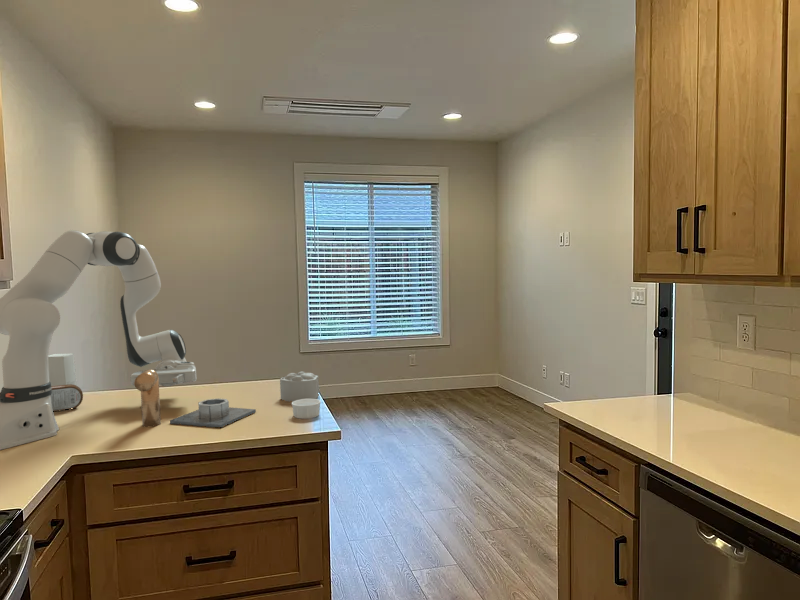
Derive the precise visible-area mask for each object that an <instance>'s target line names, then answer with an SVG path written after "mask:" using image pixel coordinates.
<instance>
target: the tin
mask: <svg viewBox="0 0 800 600" xmlns="http://www.w3.org/2000/svg"><path fill="white" fill-rule="evenodd" d="M51 387H52V394H51V402H52V408H53V411H57V412H60V411H59V410H65V409H71V408H75V409H77V408H78V407H80V405H81V404H82V402H83V399H84V394H83V393H84V392H83V390H82V389H81V388H80V387H79V386H78V385H77V386H76V385H72V384H68V385H58V386H51ZM65 411H66V410H65Z"/></svg>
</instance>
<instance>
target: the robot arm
mask: <svg viewBox="0 0 800 600" xmlns="http://www.w3.org/2000/svg"><path fill="white" fill-rule="evenodd" d="M87 265H90V266H99V267H100V266H101V267H116V268H118V270H119V272H120V273H121V278H122V280H123V282H124V287H125V288H124V294H123V295H122V296H121V297H120V302H119V305H120V306H119V309H120V314H121V320H122V326H123V331H124V337H125V345H126V356H127V359H128V361H129V362H130V363H131V364H133V365H134V366H137V367H140V368H142V367H144V366H145V367H146V366H148V365H151V364H152V363H156V362H159V363H158V364H157V365H156V366H155V368H154V369H153V370H154V371H155V372H156V373H157V374H158V378H159V386H160V385H161V386H162V387H163V386H164V387H172V386H175V385H179V384H182V383H190V382H196V381H197V368H196V365H195V362H193V361H187V359H186V355H187V349H186V344H185V343H186V342H185V341H184V338H183V337H182V335H181V334H180V333H178V332H177V331H176V330H174V329H167V330H163V331H160V332H157V333H153V334H149V335H144V336H141V335H140V334H139V327H138V322H137V312H138V311H139V310H140V309H142V308H143V307H144V306H146V305H147V304H148V303H151V301H153V300H154V299H155V298H156V297H157V296H158V295H159V293H160V291H161V287H162V282H161V277H160V275H159V272H158V269H157V265H156V263H155V262H154V260H153V258H152V256H151V253H150V252H149V250H148V249H147V248H146V246H145V245H143V244H140V243H137V241H136V240H135V239H134V237H132V235H130V234H128V233H125V232H122V231H106V230H105V231H96V232H89V233H84V232H82V231H79V230H73V229H72V230H71V229H70V230H65V232H64V233H62V234H61V235H60V236H59V237H57V239H55V240H54V242H52V244H51V245H50V246H49V247H48V248H47V249H46V250H45V251H44V253H43V254H42V255H41V257H40V258H39V259H38V261H36V263H35V265H34V266H32V268H31V270H29V272H28V273H27V274H26V275H25V276H24V277H23V278H22V279H21V280H20V281H18V283H16V284H15V285H14V286H13V287H11V288H10V289H9V290H8V291H7V292H6V293H5V294H4V295H2V297H1V298H0V334H1V335H4V336H9V339H8V343H7V349H6V353H5V354H4V355H3V357H2V359H1V366H2V367H1V368H2V381H3V383H2V384H3V386H2V388H1V390H0V451H1V450H5V449H9V448H13V447H16V446H20V445H23V444H28V443H33V442H35V441H39V440H42V439H46V438H50V437H54V436H56V435H58V433H57V432H58V431H59V429H60V427H59V425H58V423H57V421H56V418H55V412H53V408H52V402H51V394H52V387H51V382H50V381H49V367H48V356H49V352H50V346H51V343H52V342H51V341H52V337H53V334H54V333H55V331H56V330H57V328H59V325H60V323H61V313H60V310H59V309H58V308H57V307H56V305H54V304H53V303H54V302H56V301H57V300H58V299H59V300H60V298H62V297H64V296H65V295H66V294H67V293H68V291H69V290H70V288H71V287H72V286H73V285H74V283H75V282H76V281H77V280H78V277H79V276H80V275H81V274H82V272H83V270H84V269H85V267H86V266H87ZM160 361H161V362H160ZM146 370H147V369H146ZM146 370H145V369H144V370H138V371H134V372H133V373H132V374H131V375H130V384H131V386H135V385H134V381H135V379H136V377H137V376H139V375H140V374H141V373H143V372H144V371H146Z"/></svg>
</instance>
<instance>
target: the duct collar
mask: <svg viewBox="0 0 800 600" xmlns="http://www.w3.org/2000/svg"><path fill="white" fill-rule="evenodd" d="M256 409H257V408H256ZM256 409H255V408H243V407H230V402H229V400H228V399H227V398H210V399H204V400H201V401H199V402H198V409H196V410H193V411H191V412H188V413H185V414H182V415H180V416H179V417H176V418H173V419H169V424H171V425H179V424H181V425H180V426H190V425H193V426H194V427H202V426H206V427H205V428H213V427H222V428H224V427H223V426H225V425H227V424H229V425H231V424H233V423H235V422H234V421H236V420H238V419H240V420H242V419H244V418H243V417H245V416H247V417H249V416H251V415H253V414H255V412H256V413H257V411H256ZM252 413H253V414H252ZM250 414H251V415H250ZM248 415H249V416H248ZM241 418H242V419H241ZM245 418H246V417H245ZM238 421H239V420H238ZM232 422H233V423H232ZM236 422H237V421H236ZM230 423H231V424H230ZM193 426H192V427H193ZM227 426H228V425H227ZM225 427H226V426H225Z"/></svg>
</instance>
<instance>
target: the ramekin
mask: <svg viewBox="0 0 800 600" xmlns="http://www.w3.org/2000/svg"><path fill="white" fill-rule="evenodd" d="M320 406H321V400H320V399H319V398H317V399H300V400H296V401H293V402H291V407H292V413H293V414H292V415H293V416H294V418H296V419H301V420H304V419H313V418H316V417H318V416H320V408H321V407H320Z"/></svg>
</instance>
